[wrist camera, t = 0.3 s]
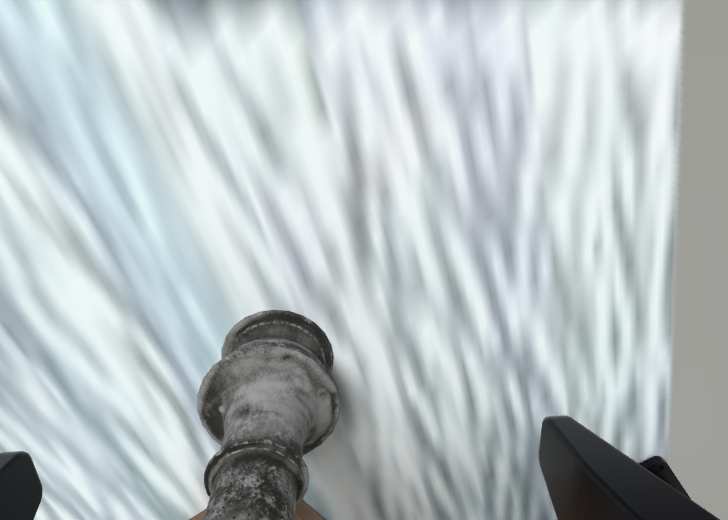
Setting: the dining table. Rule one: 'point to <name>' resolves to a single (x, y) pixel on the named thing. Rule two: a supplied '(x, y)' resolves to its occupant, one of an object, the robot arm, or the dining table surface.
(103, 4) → the dining table surface
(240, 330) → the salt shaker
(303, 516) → the collar board
